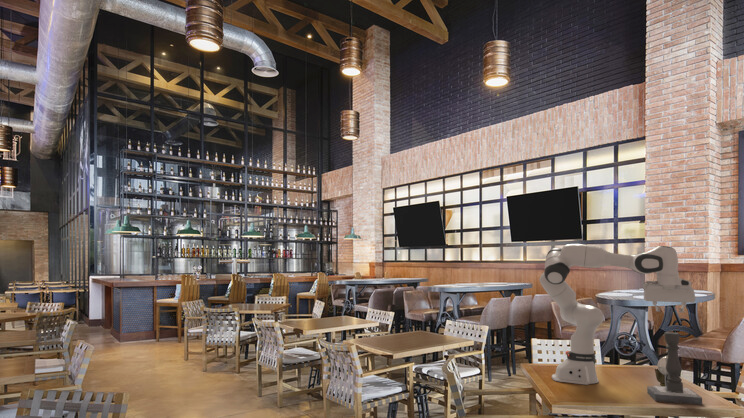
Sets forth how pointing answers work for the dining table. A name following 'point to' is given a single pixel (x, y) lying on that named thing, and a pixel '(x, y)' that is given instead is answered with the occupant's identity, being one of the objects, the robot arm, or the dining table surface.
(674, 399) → the scale base
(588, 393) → the dining table surface
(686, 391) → the scale pan
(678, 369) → the candle holder
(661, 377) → the cup
